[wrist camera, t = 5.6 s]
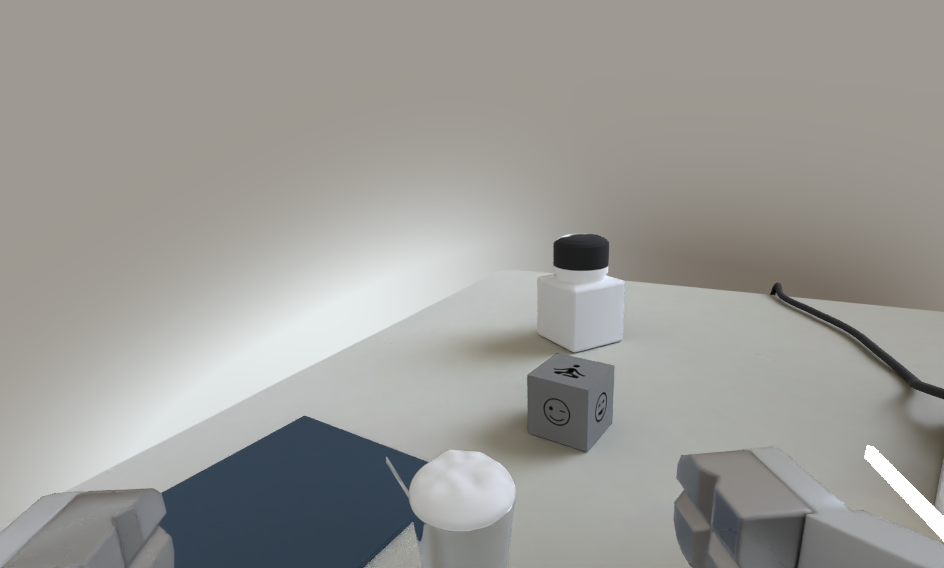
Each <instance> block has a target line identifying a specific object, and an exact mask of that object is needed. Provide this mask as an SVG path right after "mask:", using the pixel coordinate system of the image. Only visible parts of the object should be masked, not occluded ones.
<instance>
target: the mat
mask: <svg viewBox="0 0 944 568" xmlns="http://www.w3.org/2000/svg"><path fill="white" fill-rule="evenodd" d="M386 457H387V458H388V459H389V461H390V462H391V464H392V466H393V467H394V469H395V470H396V472H397V474H398V475H399V477H400V478H401V480H402V482H403V483H404V485H405V486H406V488H407V490H408V491H409V488H410V484H411V482H412V479H413V478H414V476H415V474H416V473H417V472H418V471H419V470H420V469H421V468H422V467H423V466H424V465H426V464H427V463H429V462H426V461H424V460H421V459H418V458H416V457H413V456H410V455H408V454H405V453H403V452H400V451H397V450H395V449H392V448H389V447H387V446H384V445H381V444H379V443H376V442H373V441H371V440H368V439H365V438H363V437H360V436H357V435H355V434H352V433H349V432H347V431H344V430H342V429H339V428H336V427H334V426H331V425H328V424H326V423H323V422H320V421H318V420H315V419H312V418H310V417H307V416H303V417H301V418H299V419H297V420H295V421H294V422H292V423H290V424H288V425H286V426H284V427H283V428H281V429H279V430H277V431H275V432H273V433H271V434H270V435H268V436H266V437H264V438H262V439H260V440H259V441H257V442H255V443H253V444H251V445H249V446H247V447H246V448H244V449H242V450H240V451H238V452H236V453H235V454H233V455H231V456H229V457H227V458H225V459H223V460H222V461H220V462H218V463H216V464H214V465H212V466H211V467H209V468H207V469H205V470H203V471H201V472H199V473H198V474H196V475H194V476H192V477H190V478H188V479H187V480H185V481H183V482H181V483H179V484H177V485H175V486H174V487H172V488H170V489H168V490H166V491H164V492H163V493H162V497H163V500H164V504H165V508H166V514H165V516H164V517H163V519H162V521H161V522H160V524H159V526H160V527H161V528H162V529H163V530H164V531H165V532H166V533H168V534H169V535H170V536H171V537H172V541H173V546H174V568H363V567H364V566H365V565H366V564H367V563H368V562H369V561H370V560H372V559H373V558H374V557H375V556H376V555H377V554H378V553H379V552H380V551H381V550H382V549H383V548H384V547H385V546H387V545H388V544H389V543H390V542H391V541H392V540H393V539H394V538H395V537H396V536H397V535H398V534H399V533H400V532H402V531H403V530H404V529H405V528H406V527H407V526H408V525H409V524H410V523H411V522H412V521H413V517H412V512H411V507H410V502H409V498H408V497H407V495H406V493H405V492H404V490H403V489H402V487H401V486H400V484H399V482H398V481H397V479H396V478H395V476H394V474H393V473H392V471H391V470H390V468H389V466H388V465H387V463H386Z"/></svg>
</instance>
